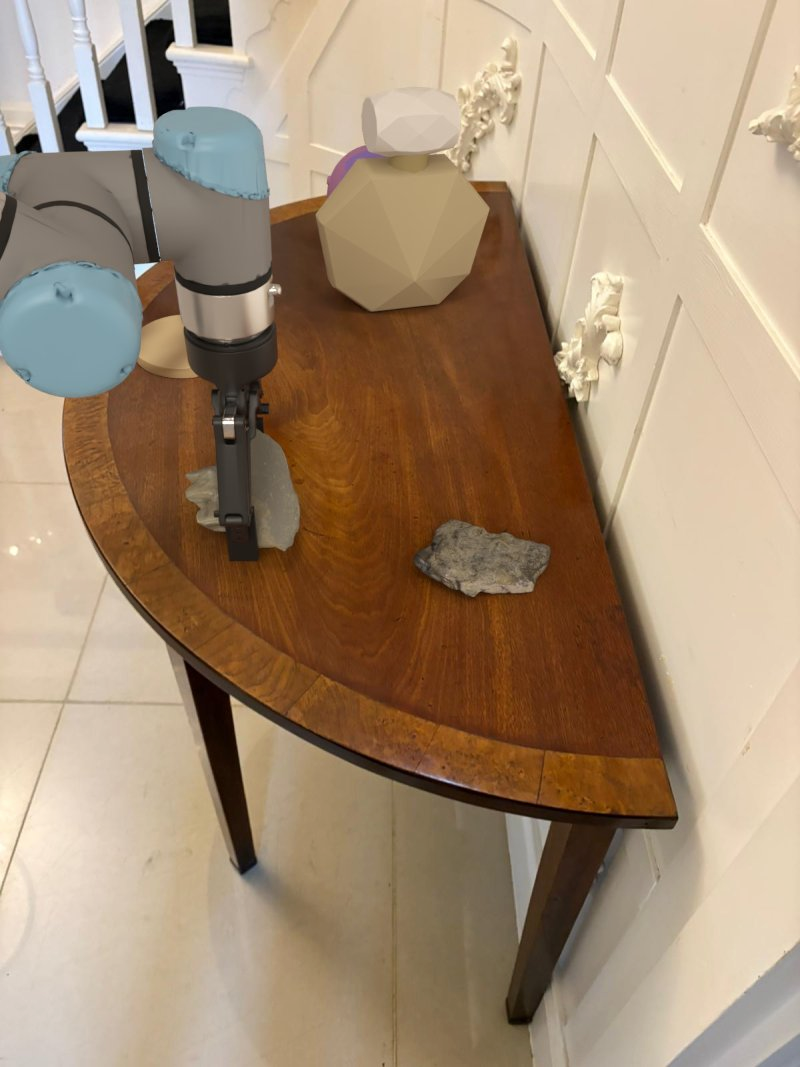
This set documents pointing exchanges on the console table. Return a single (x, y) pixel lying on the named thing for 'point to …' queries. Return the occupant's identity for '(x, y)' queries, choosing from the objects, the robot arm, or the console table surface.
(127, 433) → the console table surface
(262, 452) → the fossil
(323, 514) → the console table surface
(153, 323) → the maple disc
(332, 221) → the perfume bottle
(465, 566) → the stone
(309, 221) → the console table surface
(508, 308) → the console table surface
